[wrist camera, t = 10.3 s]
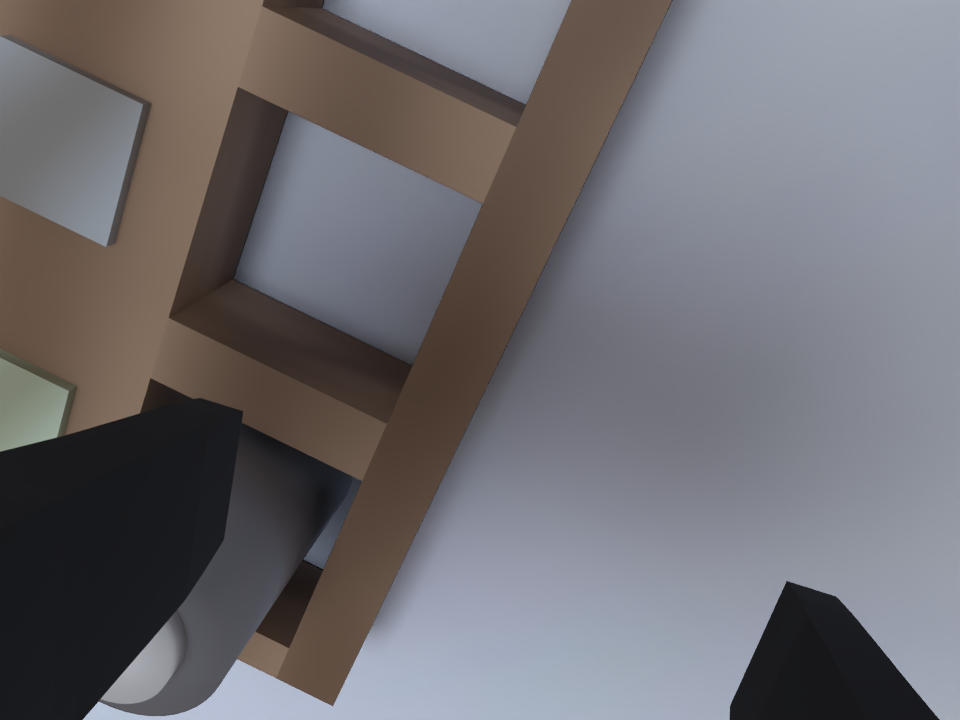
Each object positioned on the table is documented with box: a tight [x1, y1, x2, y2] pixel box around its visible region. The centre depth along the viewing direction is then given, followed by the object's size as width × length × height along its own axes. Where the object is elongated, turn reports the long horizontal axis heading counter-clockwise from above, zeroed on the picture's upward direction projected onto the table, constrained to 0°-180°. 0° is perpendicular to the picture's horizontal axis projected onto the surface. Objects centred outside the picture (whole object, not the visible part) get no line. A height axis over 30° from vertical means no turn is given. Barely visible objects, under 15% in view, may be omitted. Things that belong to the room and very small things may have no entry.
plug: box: [99, 423, 352, 716], centre depth 19 cm, size 4×4×8 cm
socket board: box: [0, 0, 672, 706], centre depth 19 cm, size 12×20×3 cm, turn 156°
